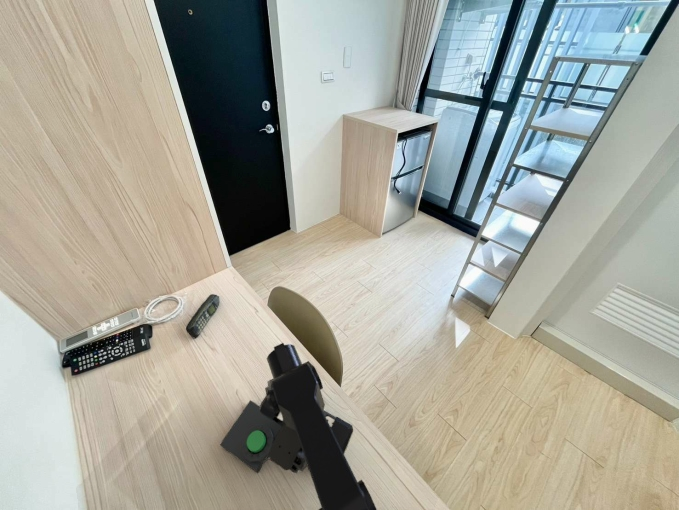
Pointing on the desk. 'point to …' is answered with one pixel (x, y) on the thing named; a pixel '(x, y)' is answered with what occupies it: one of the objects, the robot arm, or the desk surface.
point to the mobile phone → (202, 316)
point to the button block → (243, 428)
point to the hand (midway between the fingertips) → (308, 429)
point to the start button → (256, 441)
